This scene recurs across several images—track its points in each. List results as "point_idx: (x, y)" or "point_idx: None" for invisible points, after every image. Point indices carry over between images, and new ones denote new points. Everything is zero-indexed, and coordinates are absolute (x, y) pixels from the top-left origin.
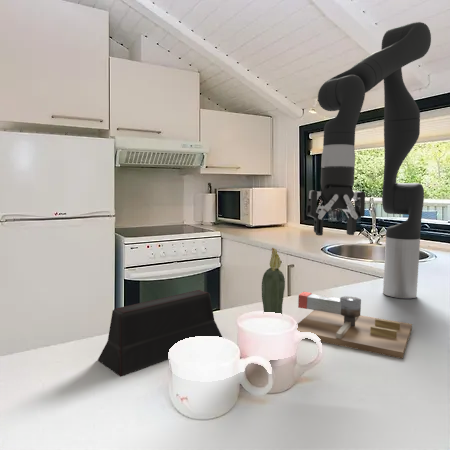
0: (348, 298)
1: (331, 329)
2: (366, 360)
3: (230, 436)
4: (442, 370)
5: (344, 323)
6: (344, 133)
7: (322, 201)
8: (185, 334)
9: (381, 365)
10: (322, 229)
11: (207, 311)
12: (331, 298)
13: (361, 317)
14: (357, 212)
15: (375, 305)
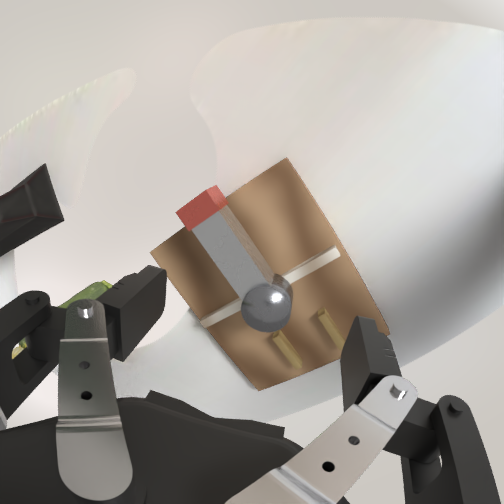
0: (265, 305)
1: (219, 287)
2: (210, 366)
3: (55, 368)
4: (277, 416)
5: None
6: None
7: (61, 405)
8: (14, 235)
9: (218, 381)
10: (147, 329)
11: (17, 223)
12: (241, 268)
13: (334, 264)
14: (408, 451)
15: (464, 186)
